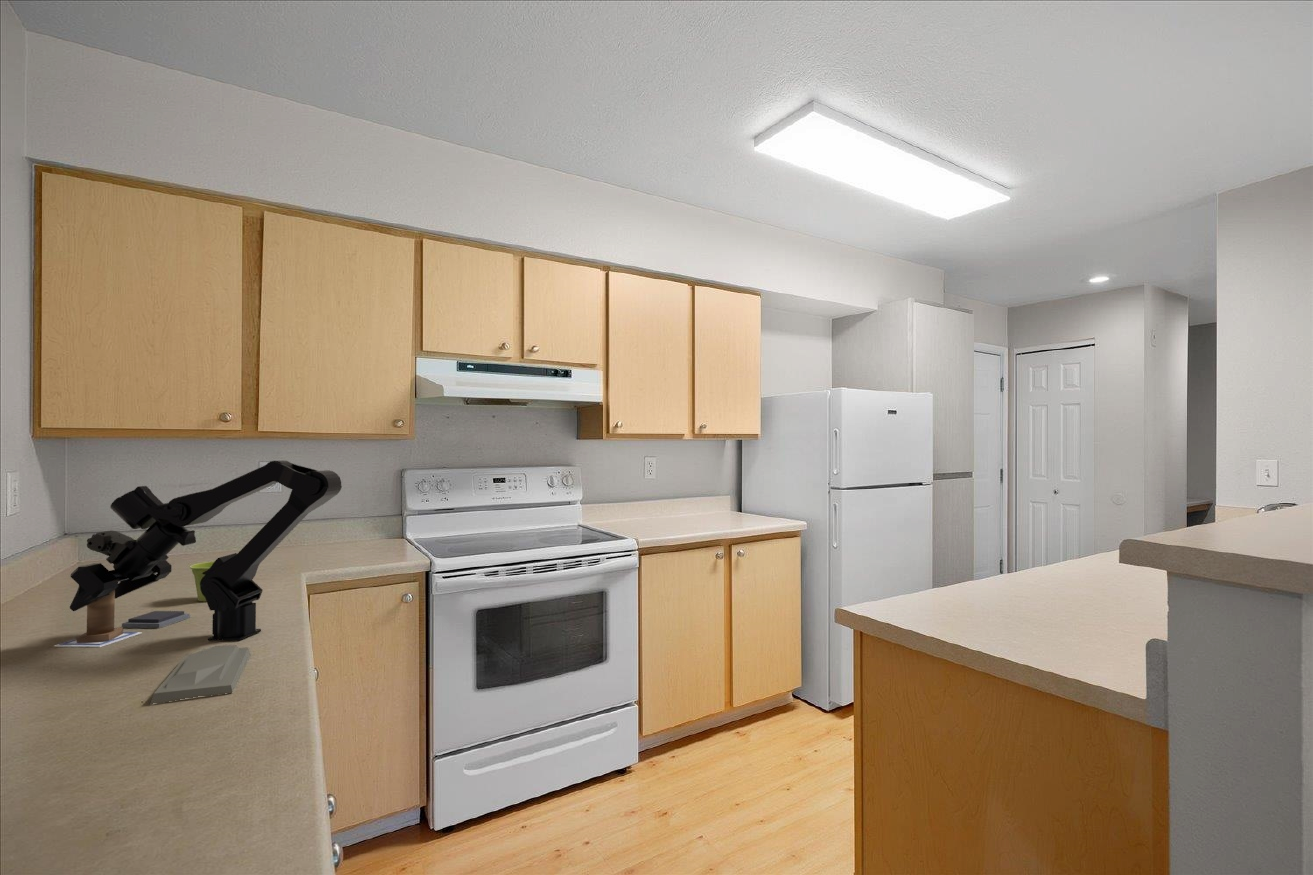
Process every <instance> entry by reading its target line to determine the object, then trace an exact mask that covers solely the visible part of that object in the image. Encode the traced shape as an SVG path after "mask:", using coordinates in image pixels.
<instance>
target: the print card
mask: <svg viewBox="0 0 1313 875" xmlns="http://www.w3.org/2000/svg"><path fill="white" fill-rule="evenodd" d="M140 634H143V632H141V631H123V634H122V635H120V636H118V637H116V638H114V639H112V640H109V641H106V642H92V643H77V638H74V639H71V640H67V641H64V642H61V643H58V644H55V645H53V647H55V648H56V647H57V648H61V647H62V648H101V647H105V646H108V645H110V644H111V645H112V644H114V643H117V642H120V641H122V640H126V639H128V638H132V637H134V636H137V635H140Z"/></svg>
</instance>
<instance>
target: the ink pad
mask: <svg viewBox="0 0 1313 875" xmlns="http://www.w3.org/2000/svg"><path fill="white" fill-rule="evenodd" d="M190 616H191V614H190V613H185V611H183V610H153V611H151V612H147V613H143V614H140V615H138V616H134V617H132V618H131V617H129V618H128V620H127V621H125V622H122V623H121V627H123V629H124V628H125V629H129V628H130V629H160V628H164V627H167V626H169V625H173V624H175V623H178V622H181V621H184V620H187V619H190V618H191V617H190Z"/></svg>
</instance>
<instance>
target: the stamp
mask: <svg viewBox="0 0 1313 875" xmlns="http://www.w3.org/2000/svg"><path fill="white" fill-rule="evenodd" d="M109 594H110V595H108V596H106V597H104V598H102V599H100V600H97V601H95V602H93V603H91V604H89V605H87V606H86V632H84V633H82V634H80V635H78V636H76V639H77V643H92V642H106V641H109V640H112V639H114V638H116V637H118V636H120V635H122V634H123V632H124V628H123V627H122V626H121V627H115V600H116V599H115V590H114V591H112V592H110V593H109Z"/></svg>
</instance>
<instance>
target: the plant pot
mask: <svg viewBox="0 0 1313 875" xmlns="http://www.w3.org/2000/svg"><path fill="white" fill-rule="evenodd" d="M215 561H216V560H214V561H208V562H207V561H206V562H199V563H195V564H192V565H190V566H189V569H191V572H192V574H193V578H194V582H195V588H196V593H197V600H198V601H199V602H206V603H207V601H206V599H205V597H204V595H203V594H202V592H201V589H200V581H201V579H202V578H203V577H204V576H205V575H204V574H202V573H203V572H205V571H207V570H208V569H209V568H210V567H211V566H212V564H213V563H214V562H215Z"/></svg>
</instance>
